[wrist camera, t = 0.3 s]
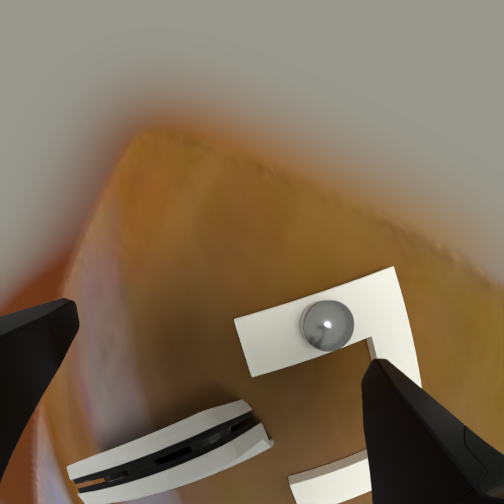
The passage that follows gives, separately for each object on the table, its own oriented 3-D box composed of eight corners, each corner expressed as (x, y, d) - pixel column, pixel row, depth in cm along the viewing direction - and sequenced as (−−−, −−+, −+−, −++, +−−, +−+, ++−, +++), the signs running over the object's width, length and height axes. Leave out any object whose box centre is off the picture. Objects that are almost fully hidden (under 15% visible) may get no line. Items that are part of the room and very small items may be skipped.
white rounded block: (135, 497, 18) (70, 521, 10) (114, 459, 21) (43, 470, 12) (278, 440, 20) (256, 475, 11) (249, 396, 22) (209, 403, 13)
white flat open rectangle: (421, 455, 19) (428, 460, 17) (299, 505, 18) (301, 514, 17) (385, 268, 22) (393, 266, 21) (235, 318, 22) (233, 319, 20)
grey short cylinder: (348, 336, 20) (359, 341, 17) (306, 352, 20) (312, 358, 17) (336, 294, 20) (346, 293, 18) (293, 308, 20) (297, 309, 18)
